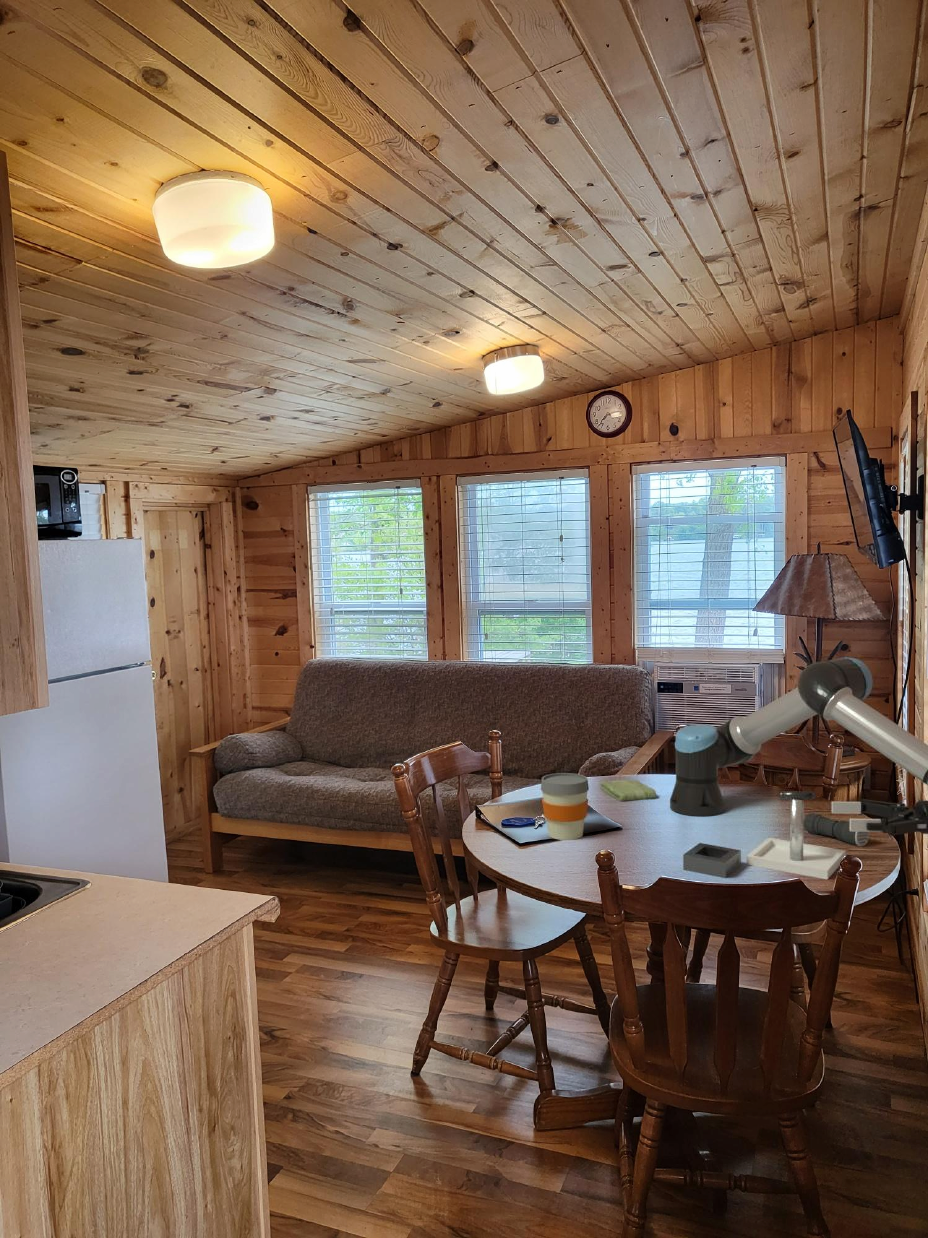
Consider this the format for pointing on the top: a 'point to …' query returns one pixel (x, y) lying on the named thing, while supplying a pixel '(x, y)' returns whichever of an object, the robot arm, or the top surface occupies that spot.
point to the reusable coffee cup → (565, 804)
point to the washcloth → (628, 790)
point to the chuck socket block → (712, 860)
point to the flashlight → (834, 829)
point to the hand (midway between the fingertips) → (840, 816)
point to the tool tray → (814, 861)
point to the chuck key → (796, 821)
